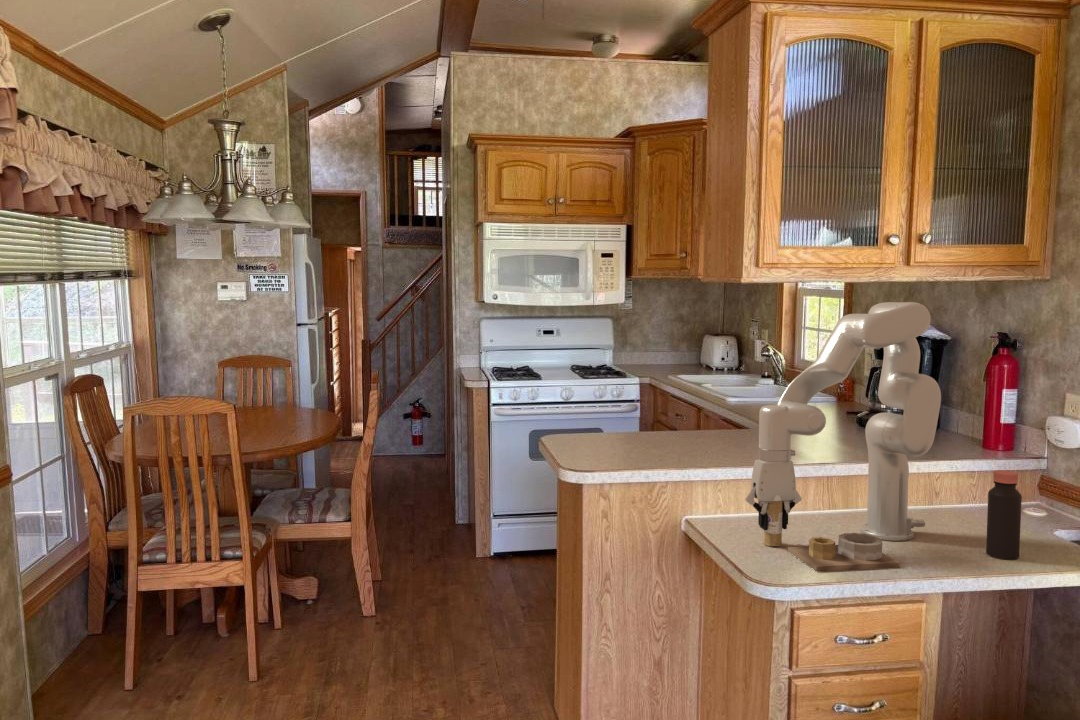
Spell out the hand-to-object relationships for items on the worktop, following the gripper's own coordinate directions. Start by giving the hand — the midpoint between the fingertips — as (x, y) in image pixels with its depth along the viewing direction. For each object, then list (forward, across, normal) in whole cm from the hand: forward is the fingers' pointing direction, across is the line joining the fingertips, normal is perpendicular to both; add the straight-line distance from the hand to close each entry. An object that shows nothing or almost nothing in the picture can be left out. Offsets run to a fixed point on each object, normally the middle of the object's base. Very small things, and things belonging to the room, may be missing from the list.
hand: (773, 527), depth 190 cm
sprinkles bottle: (+5, 0, 0) cm, 5 cm away
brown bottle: (+5, -50, +16) cm, 53 cm away
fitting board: (+4, -11, +13) cm, 18 cm away
